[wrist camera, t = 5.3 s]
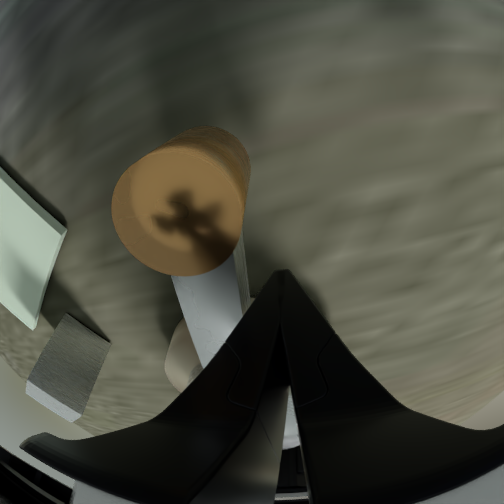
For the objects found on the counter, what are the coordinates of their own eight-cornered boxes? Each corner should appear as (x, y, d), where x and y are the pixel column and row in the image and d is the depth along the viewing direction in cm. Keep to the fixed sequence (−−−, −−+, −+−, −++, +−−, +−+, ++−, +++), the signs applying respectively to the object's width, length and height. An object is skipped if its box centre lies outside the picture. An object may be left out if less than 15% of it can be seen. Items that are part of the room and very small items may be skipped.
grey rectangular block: (96, 361, 19) (71, 422, 14) (56, 334, 18) (25, 392, 13) (111, 344, 17) (82, 415, 12) (65, 312, 16) (27, 379, 11)
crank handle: (307, 410, 16) (310, 472, 13) (203, 411, 17) (194, 470, 13) (329, 114, 7) (398, 150, 3) (104, 141, 8) (3, 200, 4)
